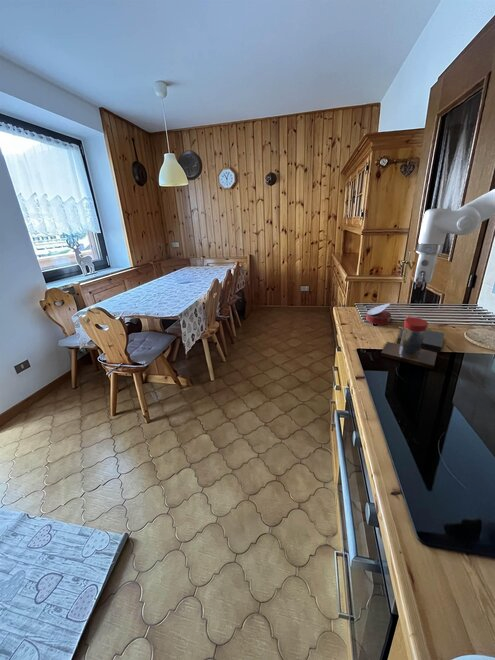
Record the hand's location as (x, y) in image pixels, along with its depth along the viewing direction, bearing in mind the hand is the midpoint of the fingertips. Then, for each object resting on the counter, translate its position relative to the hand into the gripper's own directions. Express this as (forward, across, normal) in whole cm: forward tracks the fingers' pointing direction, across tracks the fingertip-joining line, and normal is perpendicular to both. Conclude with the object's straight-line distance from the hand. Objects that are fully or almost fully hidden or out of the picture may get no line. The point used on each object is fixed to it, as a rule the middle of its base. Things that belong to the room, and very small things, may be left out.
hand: (418, 295), depth 103 cm
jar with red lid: (+16, -15, -2) cm, 22 cm away
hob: (+17, -2, -4) cm, 18 cm away
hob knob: (+14, +1, 0) cm, 15 cm away
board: (+17, -15, -2) cm, 23 cm away
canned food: (+17, +10, +14) cm, 24 cm away
